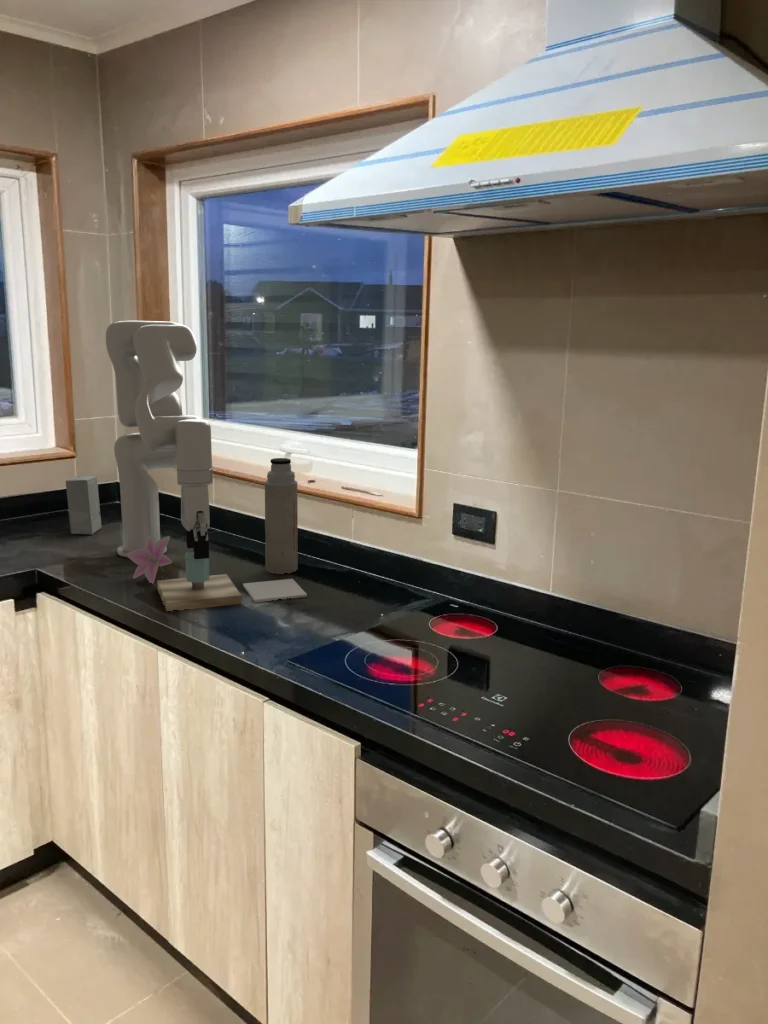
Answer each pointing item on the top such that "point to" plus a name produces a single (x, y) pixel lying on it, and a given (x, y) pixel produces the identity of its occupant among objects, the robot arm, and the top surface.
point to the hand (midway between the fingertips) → (197, 552)
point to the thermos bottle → (281, 518)
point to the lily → (150, 558)
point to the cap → (196, 568)
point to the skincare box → (83, 504)
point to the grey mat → (274, 590)
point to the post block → (198, 593)
